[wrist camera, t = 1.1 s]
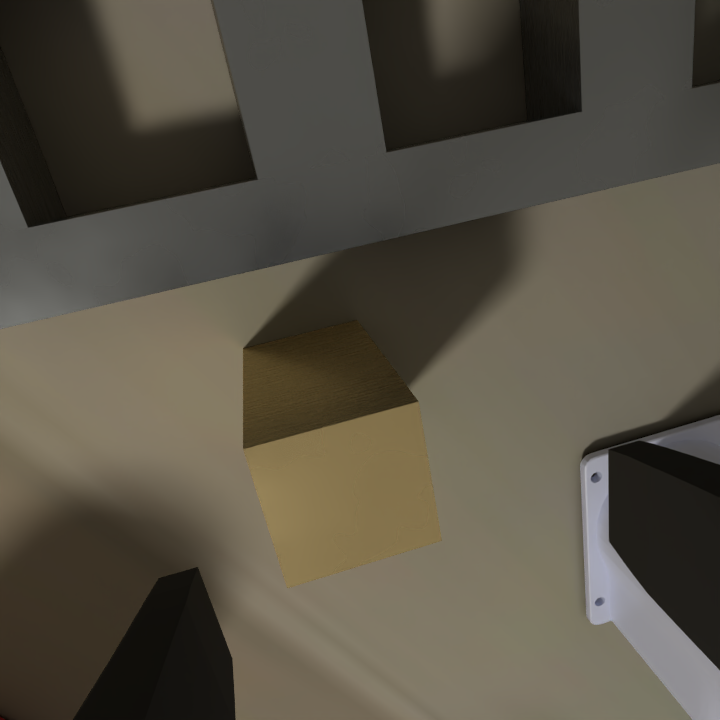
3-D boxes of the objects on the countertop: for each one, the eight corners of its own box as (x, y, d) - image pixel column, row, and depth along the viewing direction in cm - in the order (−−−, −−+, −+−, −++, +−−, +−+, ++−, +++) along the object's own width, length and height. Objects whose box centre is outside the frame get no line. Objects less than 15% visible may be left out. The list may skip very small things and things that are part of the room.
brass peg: (377, 420, 20) (441, 540, 13) (272, 448, 19) (287, 588, 13) (356, 320, 18) (418, 401, 12) (243, 348, 18) (243, 449, 11)
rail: (813, 126, 19) (907, 119, 17) (20, 306, 16) (-27, 335, 13) (856, -235, 16) (987, -321, 13) (-163, -102, 12) (-280, -180, 10)
